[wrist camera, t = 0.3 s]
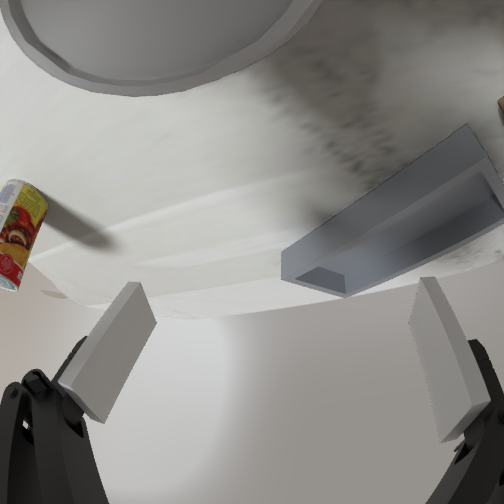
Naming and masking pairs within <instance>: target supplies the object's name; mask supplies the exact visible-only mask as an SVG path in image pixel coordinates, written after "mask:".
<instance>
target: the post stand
mask: <svg viewBox="0 0 504 504" xmlns="http://www.w3.org/2000/svg"><path fill="white" fill-rule="evenodd" d="M498 103H499V104H500V106H501V108H502V110H503V112H504V96H503V97H502V98H501V99H499V100H498Z"/></svg>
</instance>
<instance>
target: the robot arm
mask: <svg viewBox="0 0 504 504" xmlns="http://www.w3.org/2000/svg"><path fill="white" fill-rule="evenodd" d="M156 324H157V322H156V320H155V318H154V315H153V313H152V310H151V308H150V305H149V303H148V300H147V298H146V295H145V293H144V290H143V287H142V285H141V282H128V283H127V284H126V285H125V287H124V288H123V289H122V291H121V292H120V293H119V295H118V296H117V297H116V298H115V300H114V301H113V302H112V304H111V305H110V306H109V308H108V309H107V310H106V312H105V313H104V315H103V316H102V317H101V319H100V320H99V321H98V323H97V324H96V326H95V327H94V328H93V330H92V331H91V333H90V334H89V335H88V336H85V337H84V338H82V339H81V340H80V341H79V342H78V343H77V344H76V345H75V347H74V348H73V350H72V352H71V353H70V354H69V355H68V358H67V359H66V360H65V361H64V363H63V364H62V366H61V367H60V369H59V370H58V372H57V374H56V375H55V376H54V378H53V379H52V381H50V380H49V379H48V378H47V377H46V375H45V374H44V373H43V372H42V371H41V370H40V369H33V370H31V371H29V372H28V373H27V374H26V375H25V376H24V377H23V379H22V382H21V384H20V383H19V382H13V383H11V384H9V385H8V386H7V387H6V389H5V391H4V393H3V397H2V401H1V404H0V504H109V502H108V499H107V497H106V494H105V491H104V488H103V485H102V482H101V479H100V476H99V473H98V469H97V466H96V462H95V459H94V455H93V452H92V448H91V444H90V440H89V435H88V431H87V427H86V422H85V420H84V418H83V417H82V416H83V414H84V412H85V413H86V414H87V415H88V416H89V417H90V418H91V419H92V420H95V421H97V422H100V423H103V424H104V423H105V422H106V419H107V417H108V415H109V413H110V411H111V409H112V407H113V405H114V403H115V401H116V399H117V397H118V395H119V393H120V391H121V389H122V387H123V385H124V383H125V382H126V380H127V377H128V376H129V374H130V372H131V370H132V368H133V366H134V364H135V362H136V360H137V359H138V357H139V355H140V353H141V351H142V349H143V347H144V346H145V344H146V342H147V340H148V338H149V336H150V334H151V333H152V331H153V329H154V327H155V325H156ZM409 326H410V329H411V332H412V335H413V338H414V341H415V345H416V347H417V351H418V354H419V358H420V361H421V365H422V368H423V372H424V375H425V379H426V383H427V387H428V391H429V395H430V399H431V403H432V408H433V412H434V417H435V422H436V427H437V432H438V436H439V442H440V443H443V442H447V441H451V440H454V439H457V438H458V437H459V436H460V435H461V434H462V433H463V432H464V437H465V439H464V440H463V441H462V442H461V443H460V444H459V445H458V446H457V447H456V449H455V450H454V451H455V452H456V451H457V450H458V449H459V450H458V452H457V453H456V455H455V457H454V459H453V461H452V463H451V464H450V466H449V468H448V470H447V471H446V473H445V475H444V476H443V478H442V480H441V481H440V483H439V484H438V486H437V488H436V489H435V491H434V492H433V494H432V495H431V496H430V498H429V499H428V501H427V502H426V504H504V393H503V391H502V388H501V385H500V383H499V380H498V378H497V375H496V373H495V371H494V369H493V368H492V367H493V366H492V363H491V361H490V360H489V357H488V354H487V352H486V350H485V348H484V347H483V346H482V344H481V343H480V342H479V341H478V340H477V339H475V340H468V341H467V339H466V336H465V334H464V332H463V330H462V328H461V326H460V324H459V322H458V320H457V318H456V316H455V314H454V312H453V310H452V308H451V306H450V304H449V302H448V300H447V298H446V296H445V294H444V293H443V291H442V289H441V287H440V285H439V284H438V282H437V280H436V278H435V277H420V281H419V285H418V289H417V293H416V298H415V302H414V305H413V309H412V313H411V316H410V320H409ZM23 421H25V422H26V423H27V424H28V428H27V429H26V428H25V427H24V426H23Z"/></svg>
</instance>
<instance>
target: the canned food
mask: <svg viewBox="0 0 504 504" xmlns="http://www.w3.org/2000/svg"><path fill="white" fill-rule="evenodd" d="M47 210H48V203H47V200H46V198H45V197H44V196H43V195H42V193H41V192H39V191H38V190H37V189H36V188H35V187H33V186H32V185H30V184H28V183H26V182H24V181H20V180H9V181H7V182H6V183H5V185H4V187H3V189H2V191H1V193H0V288H3V289H5V290H8V291H13V292H16V291H18V289H19V286H20V283H21V279H22V276H23V273H24V270H25V266H26V264H27V261H28V258H29V255H30V253H31V250H32V247H33V244H34V242H35V239H36V237H37V234H38V232H39V229H40V227H41V224H42V222H43V220H44V217H45V215H46V213H47Z"/></svg>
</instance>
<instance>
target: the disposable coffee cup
mask: <svg viewBox="0 0 504 504" xmlns="http://www.w3.org/2000/svg"><path fill="white" fill-rule="evenodd" d="M322 2H323V0H0V9H1V12H2V16H3V19H4V22H5V24H6V26H7V28H8V30H9V32H10V34H11V36H12V38H13V40H14V41H15V42H16V44H17V45H18V46H19V47H20V49H21V50H22V51H23V53H24V54H25V55H26V56H27V57H28V58H29V59H30V60H31V61H33V62H34V63H35V64H36V65H37V66H38V67H40V68H41V69H43V70H44V71H46V72H47V73H48V74H50V75H51V76H53V77H55V78H57V79H59V80H61V81H63V82H65V83H67V84H69V85H72V86H75V87H78V88H82V89H85V90H88V91H91V92H96V93H104V94H111V95H121V96H130V97H139V96H157V95H163V94H169V93H175V92H181V91H186V90H188V89H191V88H194V87H197V86H200V85H203V84H206V83H209V82H212V81H215V80H218V79H220V78H222V77H224V76H227V75H229V74H232V73H234V72H237V71H240V70H242V69H244V68H246V67H248V66H250V65H251V64H253V63H255V62H257V61H259V60H261V59H263V58H265V57H267V56H268V55H269V54H271V53H272V52H273V51H275V50H276V49H278V48H279V47H281V46H282V45H283V44H285V43H286V42H288V41H289V40H290V39H291V38H292V37H293V36H294V35H295V34H296V33H297V32H298V31H299V30H300V29H301V28H302V27H303V26H305V25H306V24H307V23H308V22H309V21H310V20H311V18H312V17H313V15H314V14H315V12H316V11H317V9H318V8H319V6H320V5H321V3H322Z"/></svg>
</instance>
